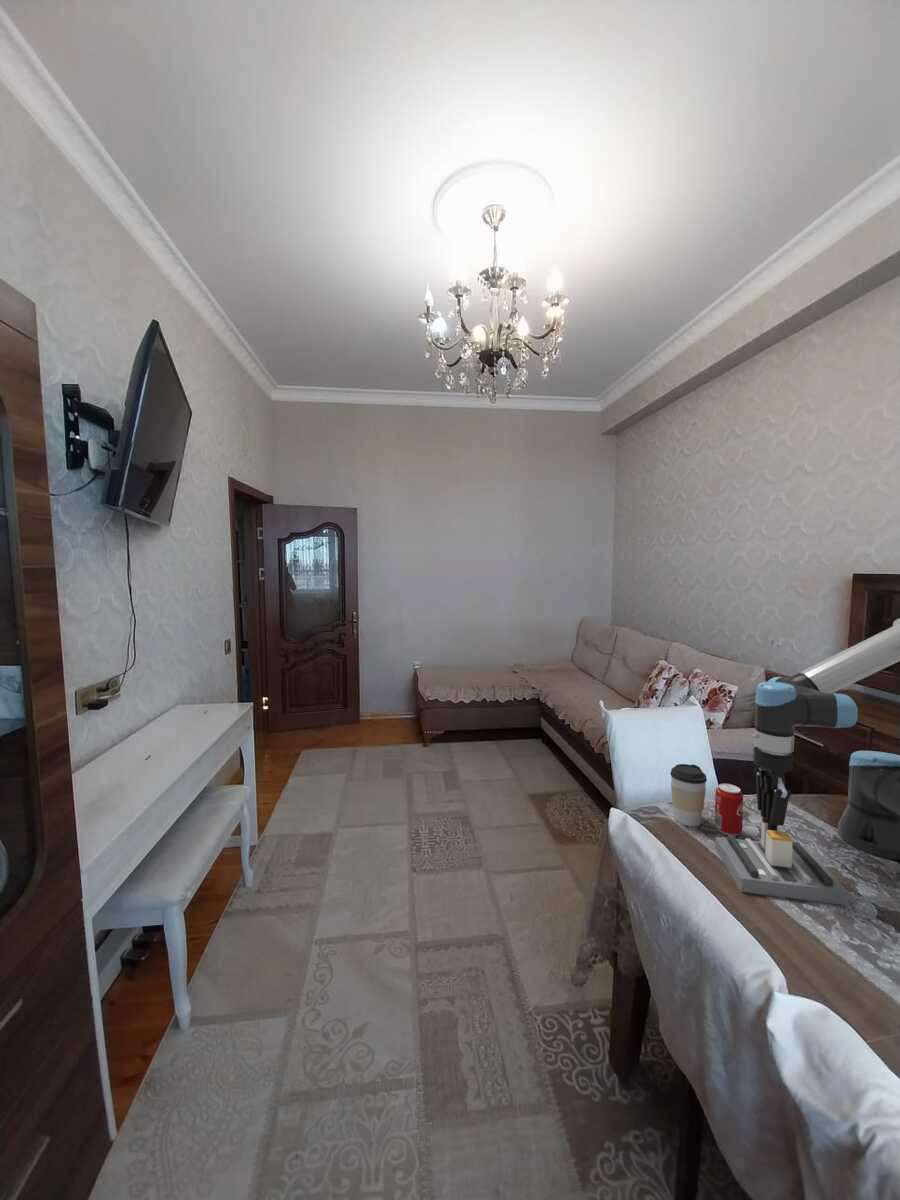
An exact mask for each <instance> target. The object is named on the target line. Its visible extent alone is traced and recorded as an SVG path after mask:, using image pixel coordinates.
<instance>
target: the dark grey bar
mask: <svg viewBox="0 0 900 1200" xmlns="http://www.w3.org/2000/svg"><path fill="white" fill-rule="evenodd" d="M802 846H803V845H801V844H800V843H799V841H793V844H792V848H793V850H794V851H795V853H797V854H798V855H799V857H800V858H801V859H802V860H803V861H804V862H805V863H806V865H807V866H808V867H809V868H810V869H811V870H812V871H813V873H814V874H815V875H816V876H817V877H818V878H819V879H820V881H821V882H822V883H823V884H824V885H825V886H830V887H833V880H832V879H831V878H830V877H829V875H828V874H827V873H826V872H825V871H824V870H823V869H822V868H821V867H820V866H819V864H818V863H817V862H816V861H815V860H814V859H813V858H812V857H811V856H810V855H809V854H808V852H807V851H806V850H805V849H804V848H803V847H802Z"/></svg>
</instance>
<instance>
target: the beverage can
mask: <svg viewBox="0 0 900 1200" xmlns="http://www.w3.org/2000/svg"><path fill="white" fill-rule="evenodd" d="M714 795H715V799H714V800H715V806H714V827H715V828H716V829H717V830H718V832H719V833H721V834H723V835H725V836H727V835H734V837H737V836H739V835H740V834H742V832H743V814H744V813H743V812H744V794H743V793H742V791H741V788H740V787H738V786H736V785H734V784H731V783H720V784H719V785H718V787H717V788H716V789H715V794H714Z"/></svg>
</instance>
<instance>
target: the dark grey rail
mask: <svg viewBox="0 0 900 1200" xmlns="http://www.w3.org/2000/svg"><path fill="white" fill-rule="evenodd" d="M726 836H727V837H726V838H727V841H728V842H729V843H728V844H730V845H731V847H732V848H733V850H734V851H735V853H736V854H737V856H738V857H739V859H740V861H741V862H742V864H743V865H744V867H745V868H746V870H747V873H749V874H750V876H751V877H756V878H759V871H758V870H757V868H756V867H755V866H754V864H753V863H752V861H751V860H750V858H749V857H748V855H747V854H746V853H745V851H744V850H743V848H742V847H741V845H740V844H739V842H738V841H737V840H736V839H737V838H736V836H734V835H726Z"/></svg>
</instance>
